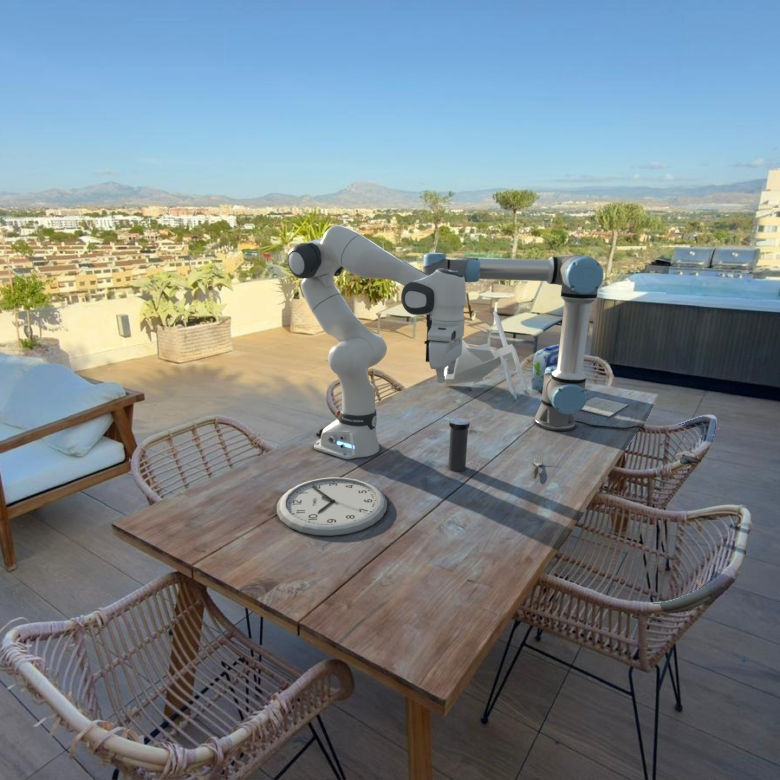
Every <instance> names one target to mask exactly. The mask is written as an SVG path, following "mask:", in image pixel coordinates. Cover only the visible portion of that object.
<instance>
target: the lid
mask: <svg viewBox="0 0 780 780" xmlns="http://www.w3.org/2000/svg"><path fill="white" fill-rule="evenodd" d="M449 428H453V429H458V430H464V429H468V430H469V428H470V420H468V419H466V418H464V417H463V418H462V417H454V418H450V420H449Z"/></svg>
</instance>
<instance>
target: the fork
mask: <svg viewBox="0 0 780 780" xmlns="http://www.w3.org/2000/svg"><path fill="white" fill-rule="evenodd" d="M537 456H539V457H537ZM543 460H544V455H542V454H540V455H539V454H537V455H535V458H534V461H533V464H534V465H535V466H536V467H535V468H534V470H533V471H534V472H533V474H534V475H533V477H534V478H533V479H534V480H536V478H537V475H538V473H539V466H542V465H543Z"/></svg>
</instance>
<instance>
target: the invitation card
mask: <svg viewBox="0 0 780 780" xmlns="http://www.w3.org/2000/svg"><path fill="white" fill-rule="evenodd" d="M628 406H629V404H627V403H623V402H618V401H614V400H609V399H605V398H601V397H596V396H593V397H592V398H590V399H587V401H586V404H585V406H584V407H583V408H582V409H581V410H580V411H584V412H587V413H593V414H596V415H600V416H604V417H608V418H609V417H611V416H613V415H614V414H616V413H617V412H619V411H621V410H623V409H624V408H626V407H628Z"/></svg>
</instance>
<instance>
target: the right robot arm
mask: <svg viewBox="0 0 780 780" xmlns="http://www.w3.org/2000/svg"><path fill="white" fill-rule="evenodd" d="M422 264H423V265H422V272H424V273H426V274H428V275H431V274H433V273H434V272H435V271H436V270H437V269H440V268H447V269H453V270H457V271H459V272H460V273H462V274H463V275H464V278H465V283H468V284H470V283H477V282H479V281H480V280H495V281H497V280H499V281H500V280H501V281H526V282H527V281H531V282H546V283H547V284H548V285H557V286H561V289H560V298H561V299H562V300H563V303H564V305H563V313H562V322H561V330H560V339H559V345H560V346H559V355H558V364H557V366H553V367H547V368H546V369H545V373H544V382H543V392H542V391H541V393H542V394H541V402H540V405H539V407H538V410H537V411H536V413H535V416H534V424H535V425H536V426H537V427H539V428H542V429H544V430H549V431H556V432H567V431H572V430H574V429H575V428H576V423H577V424H582V425H585V426H589V427H595V428H604V429H605V428H606V429H615V430H623V431H624V430H631V429H632V430H633V429H637V428H639V429H641V430H642V431H646V428H645V427H643V426H641V425H632V426H627V427H621V426H611V425H602V424H593V423H588V422H584V421H581V420H578V419H576V418H575V417H576V416H575V414H576V413H579V412H580V411H582V410H581V409H582V408H583V407H584V406H585V404H586V401H588V397H587V392H586V389H585V388H586V383H587V382H586V381H587V375H586V374H585V373H584V371H583V369H584V361H585V355H586V347H587V339H588V338H587V337H588V330H589V324H590V318H591V317H590V316H591V308H592V303H593V302H594V301H596V300H597V298H598V294H599V293H598V291H599V288H601V285H602V284H603V281H604V269H603V267H602V265H601V264H600V262H599V261H597V260H596V259H595V258H594V257H592V256H587V255H581V254H574V255H573V254H572V255H565V256H551V257H549V258H548V259H545V258H544V259H543V258H542V259H541V258H540V259H539V258H501V257H500V258H497V257H496V258H495V257H494V258H492V257H466V256H460V257H457V258H455V259H451V258H449V259H448V258H447V257H446V253H444V252H427V253H425V254H424V255H423V263H422ZM425 315H426V316H425V320H426V340H424V342H423V343H424V344H425V362H426V363H429V343H430V341H431V340H428V332H429V330H430V329H431V325H432V315H431V314H425Z"/></svg>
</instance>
